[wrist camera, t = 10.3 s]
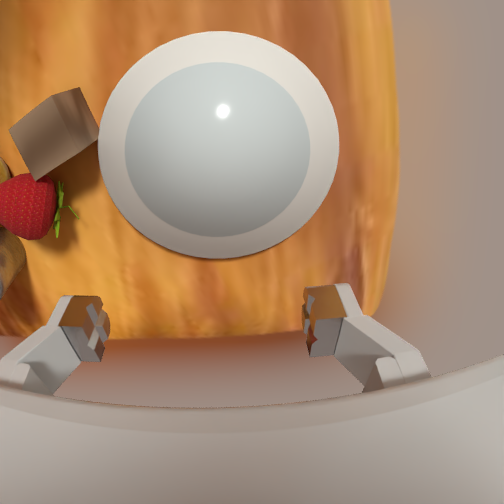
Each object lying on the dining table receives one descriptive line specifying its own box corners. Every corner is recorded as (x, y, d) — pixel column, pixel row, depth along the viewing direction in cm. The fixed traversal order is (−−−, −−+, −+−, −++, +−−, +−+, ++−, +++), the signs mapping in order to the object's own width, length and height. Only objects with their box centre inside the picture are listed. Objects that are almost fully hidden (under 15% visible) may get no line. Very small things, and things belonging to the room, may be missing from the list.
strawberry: (-19, 243, 22) (71, 250, 28) (-30, 222, 16) (85, 232, 23) (-11, 185, 23) (75, 195, 29) (-16, 151, 17) (90, 165, 24)
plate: (89, 53, 19) (83, 53, 18) (338, 35, 20) (344, 34, 19) (126, 256, 31) (123, 264, 30) (325, 245, 31) (329, 253, 30)
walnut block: (39, 115, 22) (8, 129, 18) (79, 87, 21) (51, 95, 17) (61, 160, 25) (35, 181, 20) (103, 135, 24) (79, 152, 20)
